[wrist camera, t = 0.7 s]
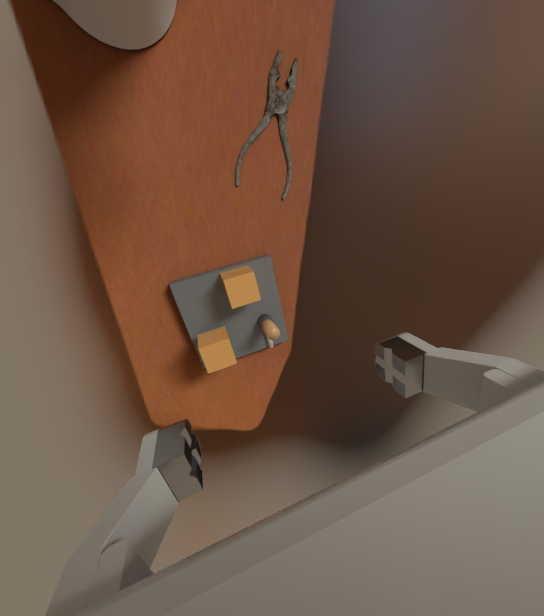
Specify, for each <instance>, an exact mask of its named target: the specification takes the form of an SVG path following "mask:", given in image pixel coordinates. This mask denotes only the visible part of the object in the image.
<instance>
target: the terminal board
mask: <svg viewBox="0 0 544 616" xmlns="http://www.w3.org/2000/svg"><path fill="white" fill-rule="evenodd" d="M247 265H248V266H249V267H250V268H251V269H252V270H253V271H254V274H255V278H256V282H257V286H258V290H259V293H260V297H261V300H259V301H256V302H253V303H249V304H246V305H243V306H240V307H237V308H234V309H232V307H231V305H230V303H229V301H228V298H227V295H226V291H225V288H224V285H223V282H222V279H221V275H220V273H223V272H226V271H230V270H233V269H236V268H240V267H243V266H247ZM169 286H170V289H171V291H172V293H173V296H174V298H175V301H176V303H177V306H178V308H179V311H180V313H181V315H182V318H183V320H184V323H185V325H186V328H187V330H188V333H189V335H190V337H191V340H192V342H193V345H194V347H195V350H196V352H197V355H198V357H199V359H200V362H201V364H202V367H203V369H204V370H206V369H207V372H208V374H209V373H212V372H214V371H217V370H220V369H223V368H225V367H228V366H231V365H234V364H236V363H237V361H236V359H237V358H239V357H242V356H245V355H248V354H250V353H253V352H256V351H259V350H261V349H264V348H267V347H270V348H272V347H273V346H274V345H275V344H278V343H281V342H284V341H286V340H289V338H288V334H287V329H286V324H285V320H284V315H283V311H282V306H281V301H280V297H279V292H278V288H277V283H276V278H275V274H274V269H273V265H272V260H271V256H270V255H268V254H266V255H262V256H259V257H255V258H252V259H248V260H245V261H241V262H238V263H234V264H231V265H227V266H224V267H220V268H217V269H213V270H210V271H206V272H203V273H199V274H196V275H192V276H189V277H185V278H182V279H178V280H175V281H171V282H170V283H169Z"/></svg>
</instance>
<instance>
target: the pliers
mask: <svg viewBox="0 0 544 616" xmlns="http://www.w3.org/2000/svg"><path fill="white" fill-rule="evenodd" d="M280 62H281V49H279V51H278V53H277V56H276V58H275V61H274V63H273V66H272V69H271V71H270V74H269V90H268V103H267V107H266V110H265V114H264V116H263V119H262V120H261V122H260V124H259V125H258V126H257V128H256V129H255V130H254V132H253V133H252V134H251V136H250V137H249V138H248V140H247V141H246V143H245V144H244V146H243V147H242V150H241V152H240V154H239V157H238V161H237V166H236V173H235V183H236V186H237V187H238V186H239V174H240V167H241V163H242V160H243V157H244V155H245V153H246V151H247V150H248V148H249V147H250V146H251V144H252V143H253V142H254V141H255V140H256V138H257V137H258V136H259V135H260V134H261V133H262V132H263V131H264V129H265V128H266V127H267V125H268V124H269V122H270V121H271V119H272V117H273V115H274V114H276V115H278V123H279V131H280V136H281V141H282V144H283V148H284V152H285V156H286V161H287V170H288V172H287V182H286V186H285V190H284V193H283V195H282V200H284V199H285V197H286V195H287V192H288V190H289V186H290V181H291V175H292V161H291V154H290V149H289V144H288V139H287V132H286V119H287V115H288V107H289V105H290V102H291V100H292V97H293V94H294V91H295V88H296V78H297V62H298V58H297V57H296V58H295V61H294V63H293V66H292V69H291V76H290V77H289V78H288V79H287V84H288V90H283V92H281V91H280V88H279V87H278V86H277V84H276V80H277V79H279V78H280V72H279V65H280Z"/></svg>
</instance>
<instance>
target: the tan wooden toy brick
mask: <svg viewBox="0 0 544 616" xmlns="http://www.w3.org/2000/svg"><path fill="white" fill-rule="evenodd" d="M220 275H221V279H222V282H223V285H224V288H225V291H226V295H227V298H228V301H229V303H230V305H231V307H232V309H234V308H237V307H240V306H243V305H246V304H249V303H253V302H256V301H259V300H261V297H260V293H259V290H258V286H257V282H256V278H255V274H254V271H253V270H252V269H251V268H250V267H249V266H248V265H247V266H243V267H240V268H236V269H233V270H230V271H226V272H223V273H220Z"/></svg>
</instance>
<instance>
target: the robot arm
mask: <svg viewBox="0 0 544 616" xmlns="http://www.w3.org/2000/svg"><path fill="white" fill-rule="evenodd" d="M53 1H54V2H55V3H57V4H58V5H59V6H60V7H61V8H62V9H63V10H64V11H65V12H66V13H67V14H68V15H69V16H70V17H71V18H72V19H73V20H74V21H75V22H76V23H77V24H78V25H79V26H80V27H81V28H82V29H84V30H85V31H86V32H87V33H89V34H90V35H92V36H93V37H95V38H96V39H98V40H100V41H102V42H104V43H106V44H108V45H111V46H114V47H117V48H122V49H141V48H145V47H148V46H150V45H152V44H154V43H155V42H157V41H158V40H159V39H160V38H161V37H162V36H163V35H164V34H165V33H166V31H167V30H168V28H169V26H170V24H171V22H172V19H173V16H174V13H175V8H176V3H177V0H53ZM374 353H375V354H376V355H377V358H376V360H375V367H376V370H377V372H378V374H379V375H380V377H381V378H382V379H383V380H385V381H386V382H389V383H393V388H394V389H395V390H396V391H397V392H399V393H400V394H401V395H402V396H403V397H405V398H407V397H409V396H412V395H414V394H417V393H419V392H421V391H423V392H425V393H428V394H431V395H434V396H436V397H439V398H442V399H444V400H447V401H450V402H453V403H455V404H458V405H461V406H463V407H466V408H469V409H472V410H474V411H477V413H475V414H473V415H471V416H470V417H467V418H465V419H463V420H461V421H459V422H457V423H455V424H453V425H451V426H449V427H447V428H445V429H443V430H441V431H439V432H437V433H435V434H433V435H431V436H429V437H427V438H425V439H423V440H421V441H419V442H417V443H415V444H413V445H412V446H409V447H407V448H405V449H403V450H401V451H399V452H397V453H395V454H394V455H391V456H389V457H388V458H385V459H383V460H381V461H379V462H377V463H375V464H373V465H371V466H369V467H367V468H365V469H363V470H361V471H359V472H357V473H355V474H353V475H351V476H349V477H347V478H345V479H343V480H341V481H339V482H337V483H335V484H333V485H331V486H329V487H327V488H325V489H323V490H321V491H319V492H317V493H315V494H313V495H311V496H309V497H307V498H305V499H303V500H301V501H299V502H297V503H295V504H293V505H291V506H289V507H287V508H285V509H283V510H281V511H279V512H277V513H275V514H273V515H271V516H269V517H267V518H265V519H263V520H261V521H259V522H257V523H255V524H253V525H251V526H249V527H247V528H245V529H243V530H241V531H239V532H237V533H235V534H233V535H231V536H229V537H227V538H225V539H223V540H221V541H219V542H217V543H215V544H213V545H211V546H209V547H207V548H205V549H203V550H201V551H199V552H197V553H195V554H193V555H191V556H189V557H187V558H185V559H183V560H181V561H179V562H177V563H175V564H173V565H171V566H169V567H167V568H165V569H163V570H161V571H159V572H157V573H155V574H154V573H153V572H152V571H151V569H150V567H151V565H152V563H153V560H154V558H155V556H156V554H157V551H158V549H159V547H160V544H161V542H162V540H163V538H164V535H165V533H166V531H167V528H168V526H169V524H170V522H171V520H172V517H173V515H174V513H175V510H176V508H177V506H178V504H179V503H178V502H179V501H181V500H183V499H185V498H187V497H189V496H191V495H193V494H195V493H197V492H200V491H202V490H203V478H202V470H201V468H200V466H199V465H200V463H201V461H202V456H201V449H200V444H199V441H198V439H197V437H196V434H193V433H192V426H191V424H190V422H189V420H188V419H185V420H182V421H179V422H176V423H174V424H171V425H168V426H166V427H163V428H160V429H158V430H155V431H153V432H150V433H147V434H145V435H144V437H143V439H142V444H141V449H140V453H139V457H138V462H137V467H136V471H135V476H134V477H131V478H130V479H129V480H128V481H127V483H126V484H125V485H124V487H123V488H122V489H121V491H120V492H119V493H118V494H117V496H116V497H115V498H114V500H113V501H112V502H111V504H110V505H109V506H108V508H107V509H106V510H105V512H104V513H103V514H102V516H101V517H100V518H99V520H98V521H97V522H96V524H95V525H94V526H93V528H92V529H91V530H90V532H89V533H88V534H87V536H86V537H85V538H84V540H83V541H82V542H81V543H80V545H79V546H78V548H77V549H76V550H75V552H74V553H73V554H72V555H71V557H70V558H69V559H68V561H67V562H66V563H65V565H64V567H63V569H62V572H61V575H60V578H59V581H58V583H57V586H56V589H55V591H54V594H53V597H52V599H51V602H50V605H49V608H48V610H47V613H46V616H544V371H541V370H539V369H536V368H534V367H532V366H530V365H528V364H525V363H523V362H521V361H519V360H516V359H514V358H508V357H501V356H495V355H488V354H482V353H475V352H468V351H461V350H455V349H448V348H436V347H434V346H432V345H430V344H428V343H426V342H425V341H423V340H421V339H419V338H417V337H415V336H413V335H411V334H409V333H402V334H400V335H397V336H395V337H393V338H391V339H388V340H386V341H384V342H381V343H378V344H376V345H375V347H374Z"/></svg>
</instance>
